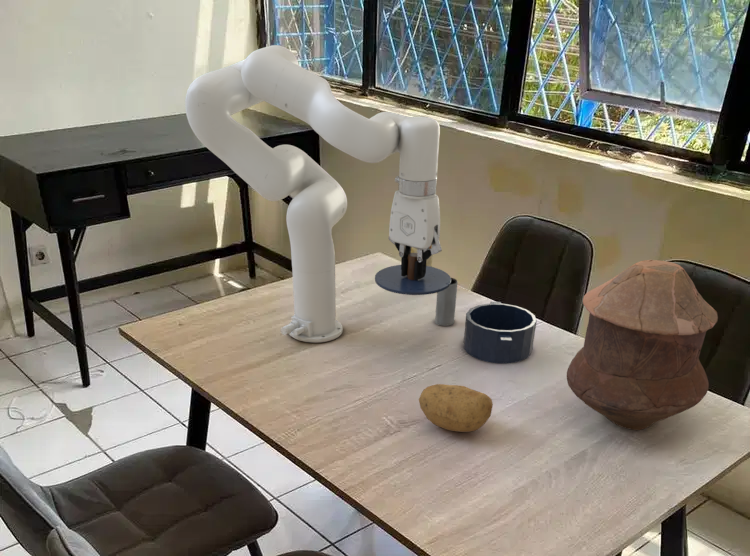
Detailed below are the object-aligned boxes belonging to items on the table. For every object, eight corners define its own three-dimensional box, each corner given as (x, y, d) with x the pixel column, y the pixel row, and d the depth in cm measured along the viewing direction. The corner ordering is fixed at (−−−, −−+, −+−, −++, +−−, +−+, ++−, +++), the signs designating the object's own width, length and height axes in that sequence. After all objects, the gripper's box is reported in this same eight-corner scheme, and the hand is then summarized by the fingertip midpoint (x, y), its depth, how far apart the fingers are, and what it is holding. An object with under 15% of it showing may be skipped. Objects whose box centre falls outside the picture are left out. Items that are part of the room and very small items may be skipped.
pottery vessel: (628, 467, 137) (670, 306, 119) (532, 404, 154) (556, 256, 136) (723, 428, 148) (774, 276, 130) (623, 374, 166) (657, 233, 148)
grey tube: (456, 320, 186) (459, 278, 180) (451, 327, 183) (454, 285, 177) (437, 317, 188) (440, 275, 181) (432, 324, 184) (435, 282, 178)
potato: (428, 407, 153) (430, 370, 148) (496, 423, 148) (501, 386, 143) (409, 430, 146) (411, 392, 141) (479, 448, 141) (484, 410, 136)
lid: (448, 270, 172) (450, 242, 169) (453, 298, 159) (455, 269, 156) (375, 268, 172) (375, 240, 169) (374, 297, 159) (374, 267, 156)
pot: (524, 329, 183) (528, 299, 178) (537, 370, 166) (543, 338, 162) (460, 328, 183) (463, 297, 178) (467, 368, 166) (470, 336, 162)
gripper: (373, 183, 155) (372, 272, 166) (440, 198, 148) (434, 291, 159) (396, 175, 160) (393, 263, 171) (462, 190, 152) (454, 280, 163)
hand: (413, 275), depth 165 cm, fingers closed on lid, 2 cm apart
